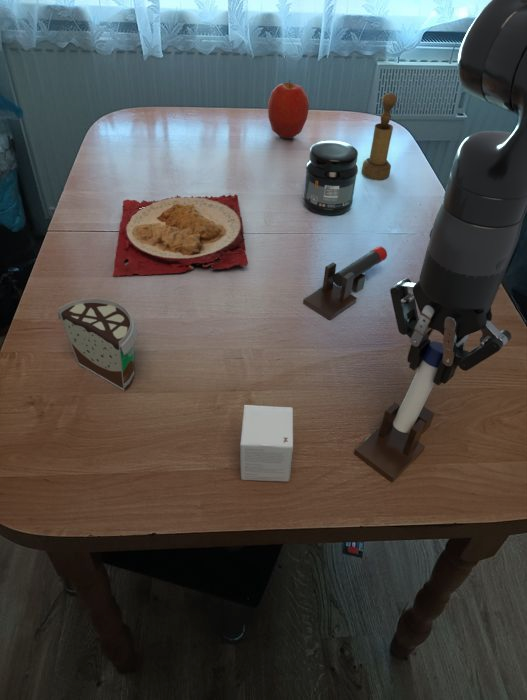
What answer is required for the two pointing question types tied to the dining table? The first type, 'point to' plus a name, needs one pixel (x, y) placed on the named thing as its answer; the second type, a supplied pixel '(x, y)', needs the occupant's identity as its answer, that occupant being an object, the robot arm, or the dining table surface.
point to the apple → (288, 110)
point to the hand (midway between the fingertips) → (427, 372)
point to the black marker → (361, 264)
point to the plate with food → (180, 235)
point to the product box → (266, 443)
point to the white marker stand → (394, 444)
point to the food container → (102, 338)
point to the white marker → (419, 388)
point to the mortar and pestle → (380, 144)
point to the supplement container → (330, 177)
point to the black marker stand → (334, 294)
